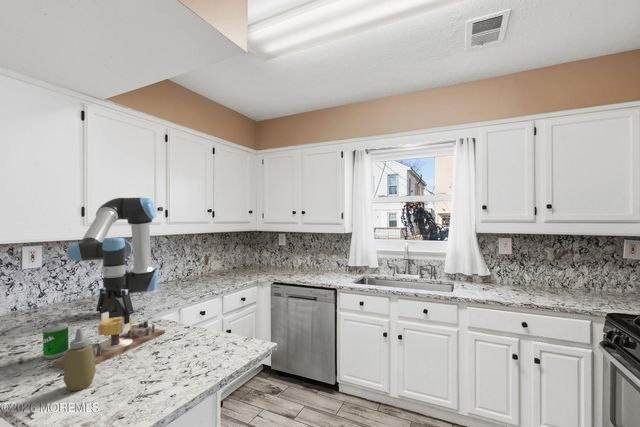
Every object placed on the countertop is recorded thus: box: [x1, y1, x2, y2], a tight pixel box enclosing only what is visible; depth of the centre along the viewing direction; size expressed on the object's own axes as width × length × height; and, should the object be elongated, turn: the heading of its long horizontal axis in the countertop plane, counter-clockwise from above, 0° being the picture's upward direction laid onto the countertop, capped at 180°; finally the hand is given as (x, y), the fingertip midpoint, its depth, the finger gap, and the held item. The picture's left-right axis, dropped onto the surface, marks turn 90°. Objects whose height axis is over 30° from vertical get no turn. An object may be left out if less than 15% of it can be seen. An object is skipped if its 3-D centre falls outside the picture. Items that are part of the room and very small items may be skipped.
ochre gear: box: [97, 316, 132, 337], centre depth 125 cm, size 11×11×4 cm
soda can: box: [42, 321, 70, 360], centre depth 119 cm, size 8×8×12 cm
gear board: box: [52, 320, 166, 370], centre depth 125 cm, size 36×14×7 cm, turn 160°
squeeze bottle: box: [63, 328, 97, 392], centre depth 97 cm, size 8×8×18 cm
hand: (115, 330), depth 125 cm, fingers closed on ochre gear, 11 cm apart
